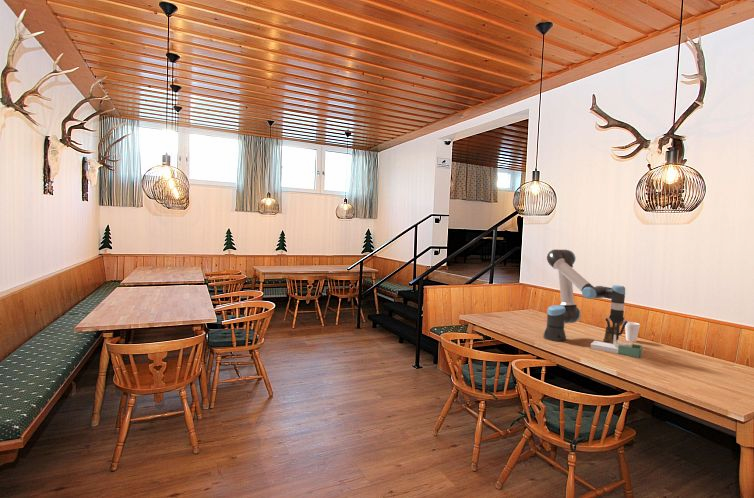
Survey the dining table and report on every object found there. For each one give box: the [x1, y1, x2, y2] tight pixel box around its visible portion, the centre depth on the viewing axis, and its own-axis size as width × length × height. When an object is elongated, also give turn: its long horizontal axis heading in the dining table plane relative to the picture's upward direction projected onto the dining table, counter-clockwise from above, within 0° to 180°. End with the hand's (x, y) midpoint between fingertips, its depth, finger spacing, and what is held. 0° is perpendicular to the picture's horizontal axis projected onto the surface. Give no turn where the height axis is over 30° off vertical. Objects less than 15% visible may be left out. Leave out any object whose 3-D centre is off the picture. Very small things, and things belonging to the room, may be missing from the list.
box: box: [617, 341, 644, 359], centre depth 263 cm, size 12×12×6 cm
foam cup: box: [624, 321, 641, 343], centre depth 298 cm, size 10×9×13 cm
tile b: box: [626, 341, 634, 348], centre depth 264 cm, size 6×6×3 cm
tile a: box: [615, 340, 627, 348], centre depth 266 cm, size 6×6×3 cm
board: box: [590, 340, 619, 355], centre depth 272 cm, size 16×12×3 cm
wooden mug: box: [602, 321, 624, 344], centre depth 288 cm, size 9×14×18 cm, turn 104°
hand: (614, 344), depth 269 cm, fingers closed
